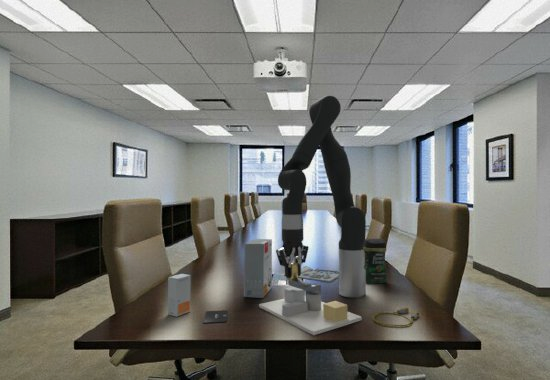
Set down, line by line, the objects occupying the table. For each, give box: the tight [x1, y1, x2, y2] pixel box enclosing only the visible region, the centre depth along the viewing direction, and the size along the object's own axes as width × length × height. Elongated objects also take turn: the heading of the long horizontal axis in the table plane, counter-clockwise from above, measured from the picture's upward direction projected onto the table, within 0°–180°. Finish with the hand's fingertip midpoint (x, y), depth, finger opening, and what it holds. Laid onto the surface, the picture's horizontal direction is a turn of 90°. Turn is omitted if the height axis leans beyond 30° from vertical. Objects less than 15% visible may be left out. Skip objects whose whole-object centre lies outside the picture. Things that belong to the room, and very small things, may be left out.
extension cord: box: [372, 307, 420, 329], centre depth 103 cm, size 12×16×2 cm
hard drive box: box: [243, 238, 273, 299], centre depth 132 cm, size 16×8×20 cm, turn 168°
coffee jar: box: [364, 238, 388, 284], centre depth 147 cm, size 10×8×19 cm
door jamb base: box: [258, 286, 363, 336], centre depth 108 cm, size 19×28×6 cm
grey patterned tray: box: [284, 266, 339, 284], centre depth 160 cm, size 23×3×20 cm
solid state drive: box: [202, 309, 229, 325], centre depth 106 cm, size 7×10×1 cm
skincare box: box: [167, 273, 192, 317], centre depth 109 cm, size 6×4×12 cm
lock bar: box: [287, 261, 322, 294], centre depth 114 cm, size 14×5×8 cm, turn 38°
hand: (293, 276), depth 118 cm, fingers closed on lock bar, 3 cm apart
